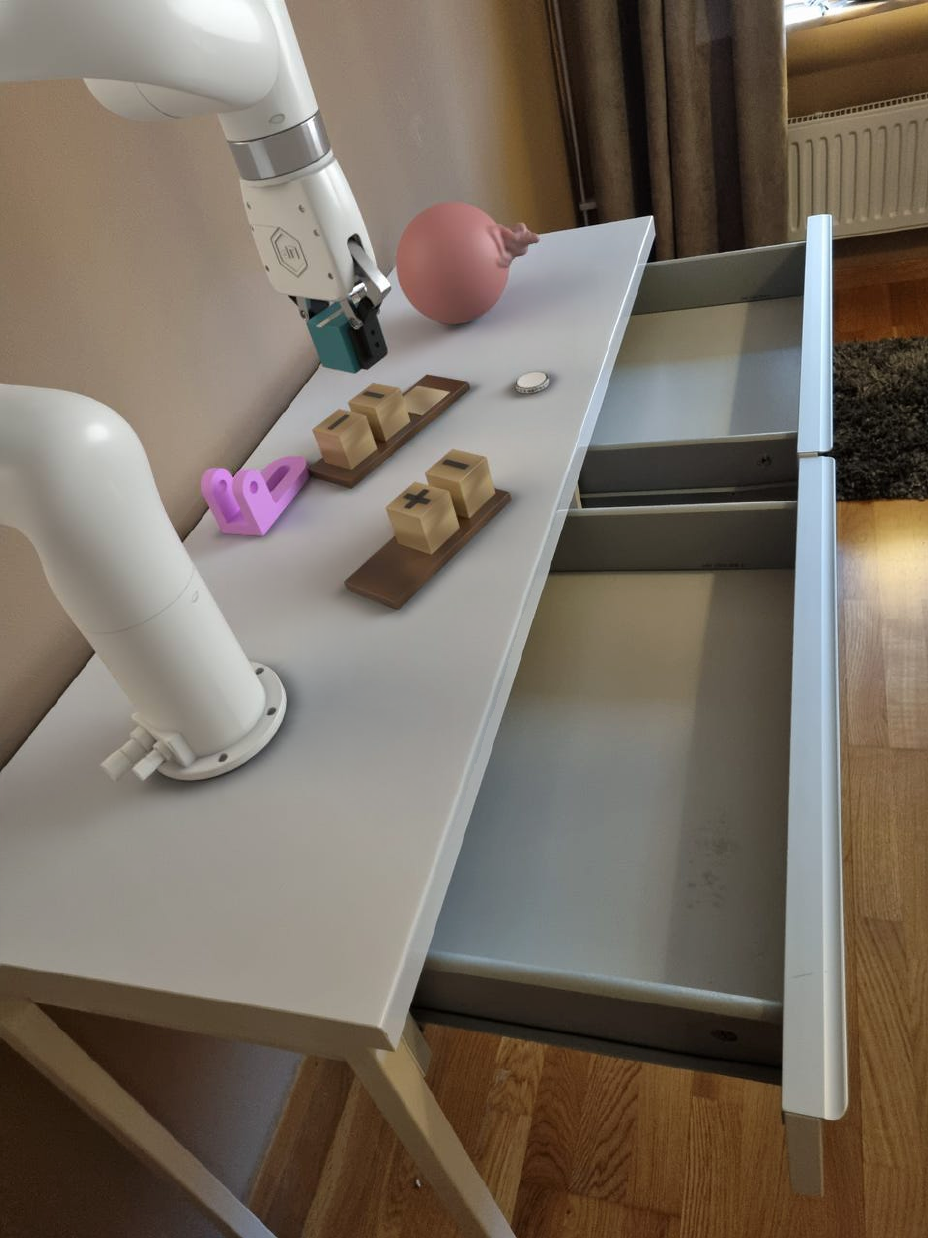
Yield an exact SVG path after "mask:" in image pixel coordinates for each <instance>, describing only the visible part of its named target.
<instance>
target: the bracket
mask: <svg viewBox="0 0 928 1238" xmlns="http://www.w3.org/2000/svg"><path fill="white" fill-rule="evenodd" d="M308 468H309V464H308V463H307V460H306V459H305V458H304V457H302V456H299V455H289V456H284V457H281V458H278V459H276V460H274V461H272V462H270V463H269V464H267V465H266V466H265V467H264V468H263V469H262V470H261V472H260V471H258V470H257V469H248V468H247V469H246V468H243V469H242V468H241V469H240V470H238V471H236V473H235V474H234V476H233V475H232V473H231V472H230V471H229V470H228V469H225V468H216V467H215V468H213V467H212V468H211V467H210V468H207V470H205V471H204V473H202V477H201V480H200V490H201V494H202V496H203V499H204V500H205V502H206V504H207V506H208V508H209V510H210V512H211V514H212V517H214V520H215V521H216V524H217V526H218V527H219V529H220V532H221V533H222V534H228V535H229V534H231V535H243V536H244V535H245V536H256V537H257V536H258V537H264V536H265V534H266V533H267V532H268V531H269V529H270V528H271V527H272V526H273V524H274V523H275V522H276V520H278V518H279V517H280V516H281V514H282V513H283V512H284V511H285V510H286V508H287V506H289V504H291V502H292V501H293V500H294V498H295V497H296V495H297V494H298V493H299V492H300V490H301V489H302V488H303V487H304V486H305V484H306V483H307V482H308V480H309V479H310V477H311V476H310V474H309V472H308Z"/></svg>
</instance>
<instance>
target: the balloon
mask: <svg viewBox="0 0 928 1238" xmlns="http://www.w3.org/2000/svg"><path fill="white" fill-rule="evenodd" d="M540 239H541V237H540V235H539V234H538V233H535V232H531V230H529V229H528V228H527V225H526V224H525V223H524V222H517V223H516V224H514V225H513V226H512V227H510V228H509V227H506V226H504V225H503V224H502V223H501V224H500V223H496V221H495V220H494V219H493V218H492V217H491V216H490V215H489V214H487V213H486V212H485V211H483V210H482V209H481V208H479V207H477V206H475V205H472V204H469V203H467V202H461V201H444V202H439V203H436V204H433V205H431V206H428V207H427V208H425V209H423V210H422V211H421V212H419V213H418V214H417V215H415V217H413V218H412V219H411V220H410V222H409V223H408V224H407V226H406V227H405V229H404V231H403V233H402V234H401V236H400V240H399V242H398V246H397V250H396V257H395V268H396V275H397V281H398V283H399V286H400V289H401V290H402V291H401V292H402V293H403V295H404V297H405V298H406V299H407V301H408V302H409V303H410V305H411V306H412V307H413V308H414V309H415V310H416V311H417V312H419V313H420V314H421V315H423V316H424V317H426V318H427V319H430V320H432V321H435V322H438V323H441V324H445V325H446V324H447V325H460V324H466V323H469V322H472V321H474V320H477V319H478V318H480V317H482V316H484V315H485V314H486V313H488V312H489V311H490V310H491V309H492V308H493V307H494V306H495V305H496V303H498V302H499V300H500V298H501V296H502V295H503V293H504V290H505V289H506V287H507V283H508V280H509V274H510V267H511V265H512V263H513V261H514V260H515V259H516V258H518V257H523V256H525V255H526V254H527V253H528V251H529V246H530V245H533V244H538V243H539V242H540V241H541V240H540Z"/></svg>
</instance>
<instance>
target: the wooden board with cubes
mask: <svg viewBox="0 0 928 1238" xmlns="http://www.w3.org/2000/svg"><path fill="white" fill-rule="evenodd" d="M424 473H425V477H426V481H427V484H425V483H422V482H419V481H414V482H412V483H411V484H410V485H409V486H408V487H407V488H405V490H404V491H402V492H401V493H400V494H399V495H398V496H396V498H393V500H392V501H391V502H390V503H388V504H387V505H386V506H385V511H386V513H387V516H388V519H389V522H390V525H391V528H392V531H393V533H394V535H393V536H392V537H391V538H390V539H389V540H388V541H387V542H386V543H385V544H384V545H383V546H381V547H380V548H379V549H378V550H377V551H376V552H375V553H374V554H373V555H372V556H371V557H369V558H368V559H367V560H366V561H365V562H364V563H363V564H362V565H360V567H359V568H357V569H356V570H355V571H354V572H352V574H351V575H349V577H347V578H346V579H345V580H344V581H343V585H344V586H345V588H346V590H347V591H350V592H352V593H355V594H357V595H359V596H362V597H365V598H367V599H370V600H372V601H374V602H377V603H380V604H382V605H384V606H387V607H390V608H392V609H395V610H396V611H399V610H400V609H401V608H402V607H403V606H404V605H405V604H406V603H407V602H408V601H409V600H410V599H412V597H414V596H415V595H416V594H417V593H418V591H420V590H421V589H422V588H423V587H424V586H425V585H426V584H427V583H428V582H429V581H430V580H431V579H432V578H433V577H434V576H435V575H436V574H437V573H438V572H439V571H441V569H442V568H444V566H446V564H448V562H450V561H451V560H452V559H453V558H454V556H455V555H457V554H458V553H459V552H460V551H461V550H462V549H463V548H464V547H465V546H466V545H467V544H468V543H469V542H470V541H471V540H472V539H473V538H474V537H475V536H476V535H478V533H479V532H480V531H481V530H482V529H483V528H484V527H486V526H487V524H488V523H489V522H490V521H491V520H493V519H494V518H495V517H496V516H497V515H498V514H499V513H500V512H501V511H502V510H503V509H504V508H505V507H506V506H507V505H508V504H509V503H510V502H511V501H512V496H511V492H510V491H507V490H503V489H498V488H495V486H494V482H493V478H492V473H491V470H490V466H489V461H488V458H487V456H484V455H481V454H480V455H479V454H477V453H476V454H475V453H471V452H467V451H464V450H459V449H455V448H451V450H449V451H448V452H447V453H446V454H444V455H443V457H441V458H440V459H439V460H438V461H437V462H435V463H434V464H433V465H432V466H431V467H430V468H429V469H428V470H426V471H424Z"/></svg>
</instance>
